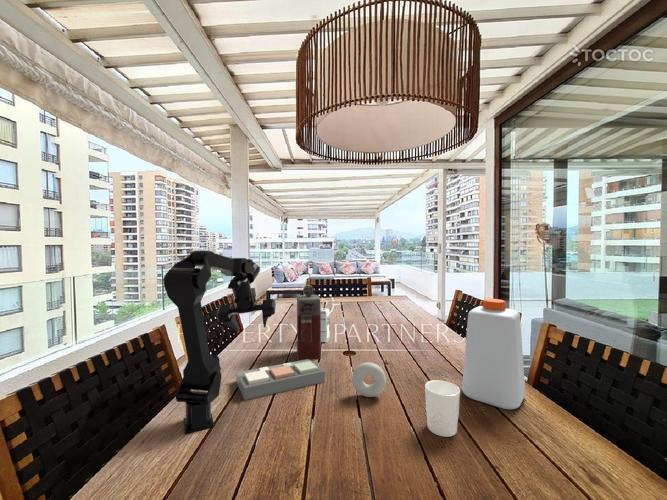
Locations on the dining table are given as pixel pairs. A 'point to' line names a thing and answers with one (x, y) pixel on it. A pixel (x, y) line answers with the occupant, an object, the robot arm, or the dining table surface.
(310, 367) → the sage key
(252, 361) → the dining table surface
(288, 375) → the terracotta key
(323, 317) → the syrup box
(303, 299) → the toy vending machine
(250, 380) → the ivory key
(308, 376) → the keypad
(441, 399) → the white cup
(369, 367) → the donut
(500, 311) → the plastic bottle
